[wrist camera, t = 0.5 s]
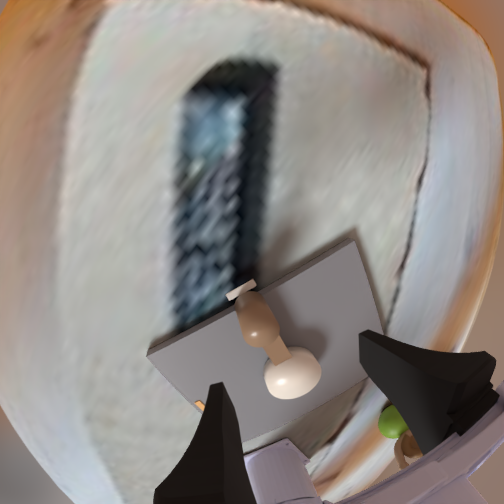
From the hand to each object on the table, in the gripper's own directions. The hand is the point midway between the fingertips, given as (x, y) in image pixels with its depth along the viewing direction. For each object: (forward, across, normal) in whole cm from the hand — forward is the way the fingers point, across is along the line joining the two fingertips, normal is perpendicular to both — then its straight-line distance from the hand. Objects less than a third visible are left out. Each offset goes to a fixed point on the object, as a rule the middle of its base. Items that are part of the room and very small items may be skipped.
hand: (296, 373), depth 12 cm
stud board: (+10, -1, +8) cm, 13 cm away
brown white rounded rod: (+9, 0, +5) cm, 10 cm away
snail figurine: (+10, -14, +25) cm, 31 cm away
